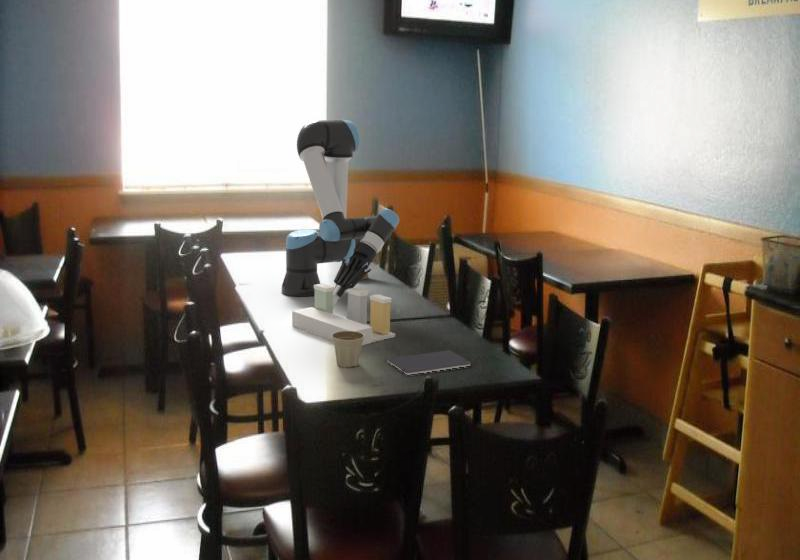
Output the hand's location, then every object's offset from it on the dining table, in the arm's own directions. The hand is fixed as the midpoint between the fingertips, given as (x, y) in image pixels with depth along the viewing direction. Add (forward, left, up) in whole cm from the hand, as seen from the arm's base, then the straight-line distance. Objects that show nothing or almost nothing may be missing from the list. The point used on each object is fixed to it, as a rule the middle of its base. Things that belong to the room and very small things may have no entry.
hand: (330, 302), depth 272 cm
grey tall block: (+11, -2, -5) cm, 12 cm away
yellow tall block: (+21, -5, -5) cm, 23 cm away
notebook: (+46, -23, -7) cm, 52 cm away
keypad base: (+9, -8, -7) cm, 14 cm away
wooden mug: (-22, +63, -7) cm, 67 cm away
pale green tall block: (-1, -3, -5) cm, 6 cm away
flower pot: (+26, -35, -7) cm, 44 cm away
